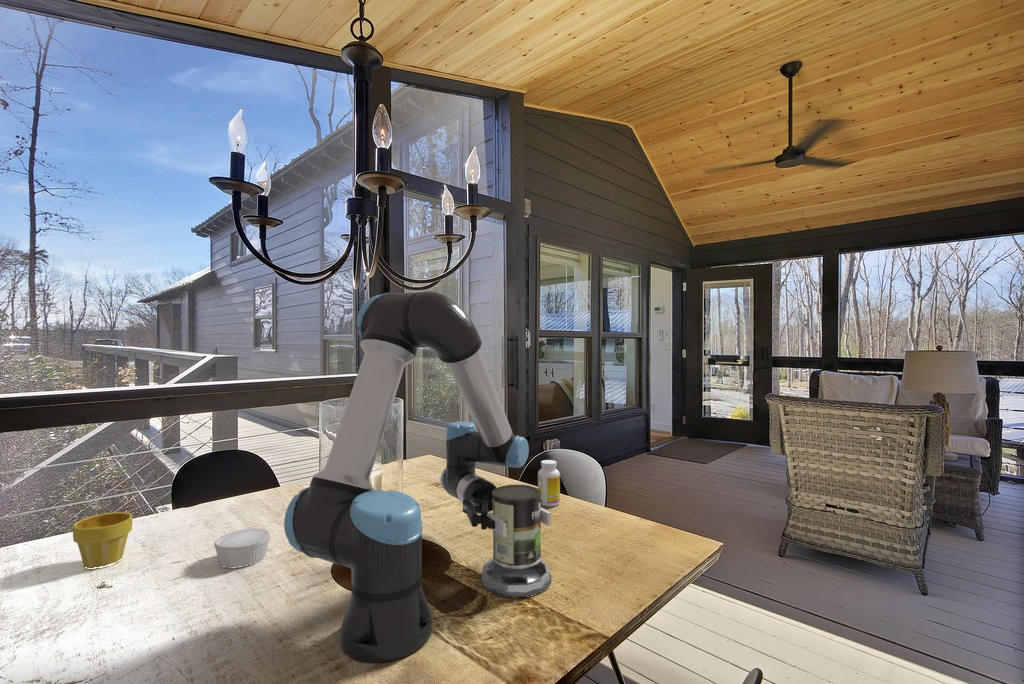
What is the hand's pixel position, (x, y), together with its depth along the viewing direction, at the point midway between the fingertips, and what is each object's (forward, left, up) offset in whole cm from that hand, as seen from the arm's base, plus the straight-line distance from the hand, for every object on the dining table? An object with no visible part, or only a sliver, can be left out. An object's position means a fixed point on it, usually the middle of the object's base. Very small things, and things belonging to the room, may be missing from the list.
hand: (527, 524), depth 100 cm
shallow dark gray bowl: (0, +4, -13) cm, 14 cm away
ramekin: (-49, +44, -13) cm, 67 cm away
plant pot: (-76, +58, -13) cm, 97 cm away
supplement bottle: (+33, +39, -13) cm, 53 cm away
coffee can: (0, +4, -9) cm, 10 cm away
